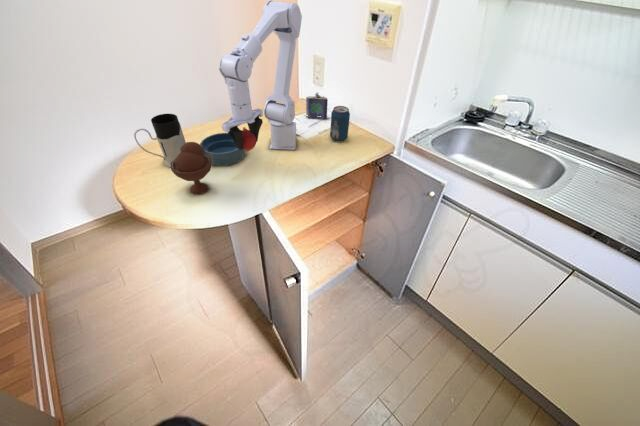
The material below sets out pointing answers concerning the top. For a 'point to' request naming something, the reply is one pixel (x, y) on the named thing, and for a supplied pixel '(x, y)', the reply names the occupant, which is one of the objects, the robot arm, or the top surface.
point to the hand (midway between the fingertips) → (247, 144)
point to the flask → (316, 107)
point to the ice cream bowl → (192, 166)
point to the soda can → (339, 123)
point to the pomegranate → (248, 139)
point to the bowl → (222, 149)
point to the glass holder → (166, 136)
